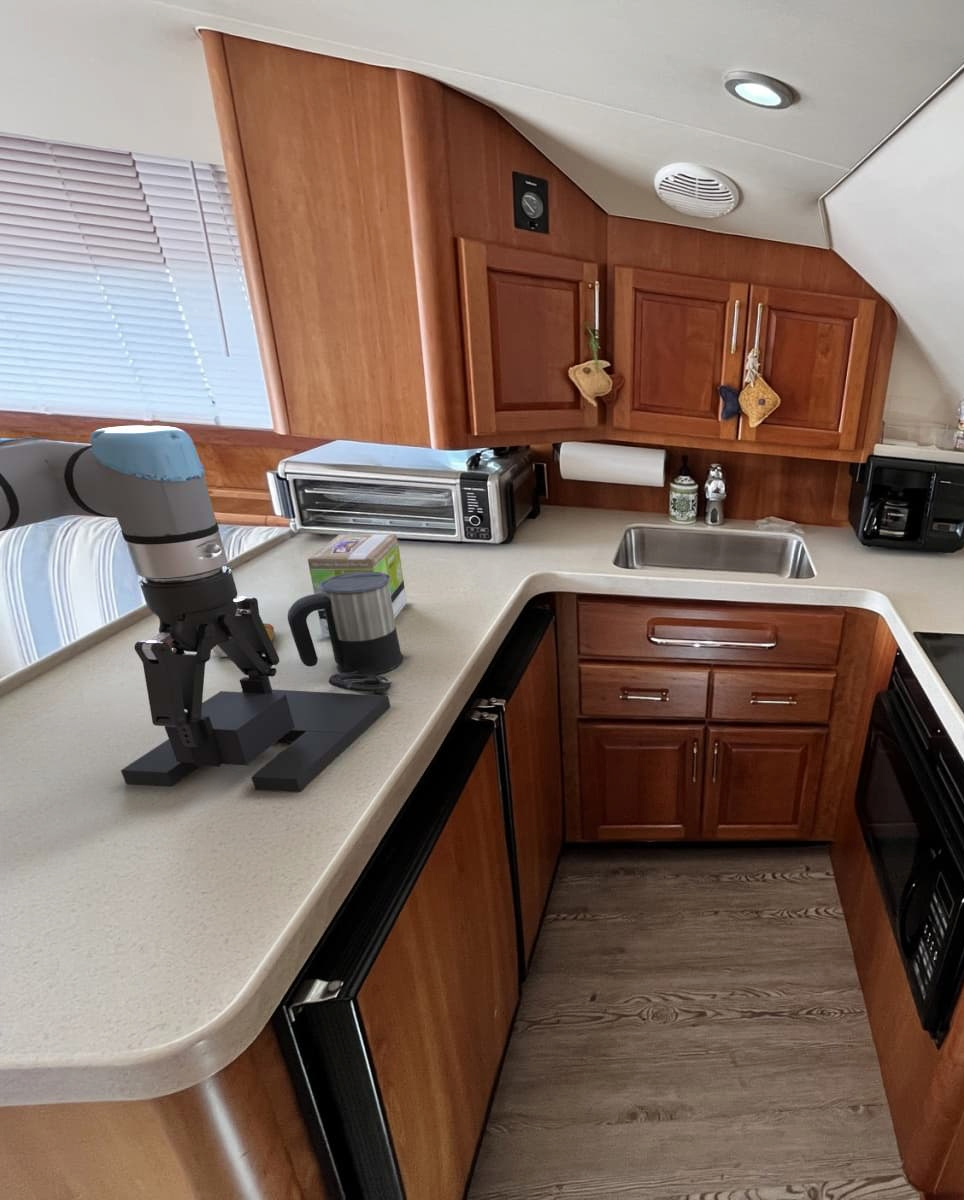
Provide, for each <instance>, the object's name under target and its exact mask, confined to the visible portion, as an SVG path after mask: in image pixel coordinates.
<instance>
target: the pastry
mask: <svg viewBox="0 0 964 1200" xmlns="http://www.w3.org/2000/svg"><path fill="white" fill-rule="evenodd" d="M263 624H264V626H265V628H266V630H267V633H268V635H269V637H270V639H271V641H272V642H273V641H274V638H275V627H274V626H273V625H272V624H271V623H265V622H263ZM212 651H213V653H215V654H216V655H218V656H219V657H220V658H229V657H228V656H227V655H226V654H225V653H224V651H223V650H222V649H221V648H220V647H219V646H218V645H216V646H215V647H214V648H213V649H212Z"/></svg>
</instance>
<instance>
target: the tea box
mask: <svg viewBox="0 0 964 1200" xmlns="http://www.w3.org/2000/svg"><path fill="white" fill-rule="evenodd" d="M307 562H308V569H309V575H310V580H311V584H312V589H313V594H318V593H323V592H324V590H322V589H321V588H320V583H321V582H322V581H324V580H325V579H328V578H330V577H333V576H336V575H340V574H345V573H353V572H380V573H384V574H387V575H389V576H390V577H391V578H390V581H389V588H390V594H391V601H392V607H393V613H394V619H395V620H396V618H397V616H398V615H399V614H400V612H401V611H402V610H403V608H405V606H406V605H407V594H406V593H407V592H406V587H405V581H404V580H405V579H404V574H403V567H402V559H401V554H400V547H399V541H398V535H397V534H349V533H348V534H338V535H337V536H336V537H334V538H333V539H331V540H330V541H329V542H328V543H327V544H325V545H323V547H321V548H320V549H319V550H317V551H316V552H315V553H313V554H312V555H310V556H309V557H308V558H307ZM317 614H318V618H319V619H318V620H319V626H320V630H321V635H322V637H330V635H329V630H328V625H327V620H326V615H325V609H321V610H317Z"/></svg>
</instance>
